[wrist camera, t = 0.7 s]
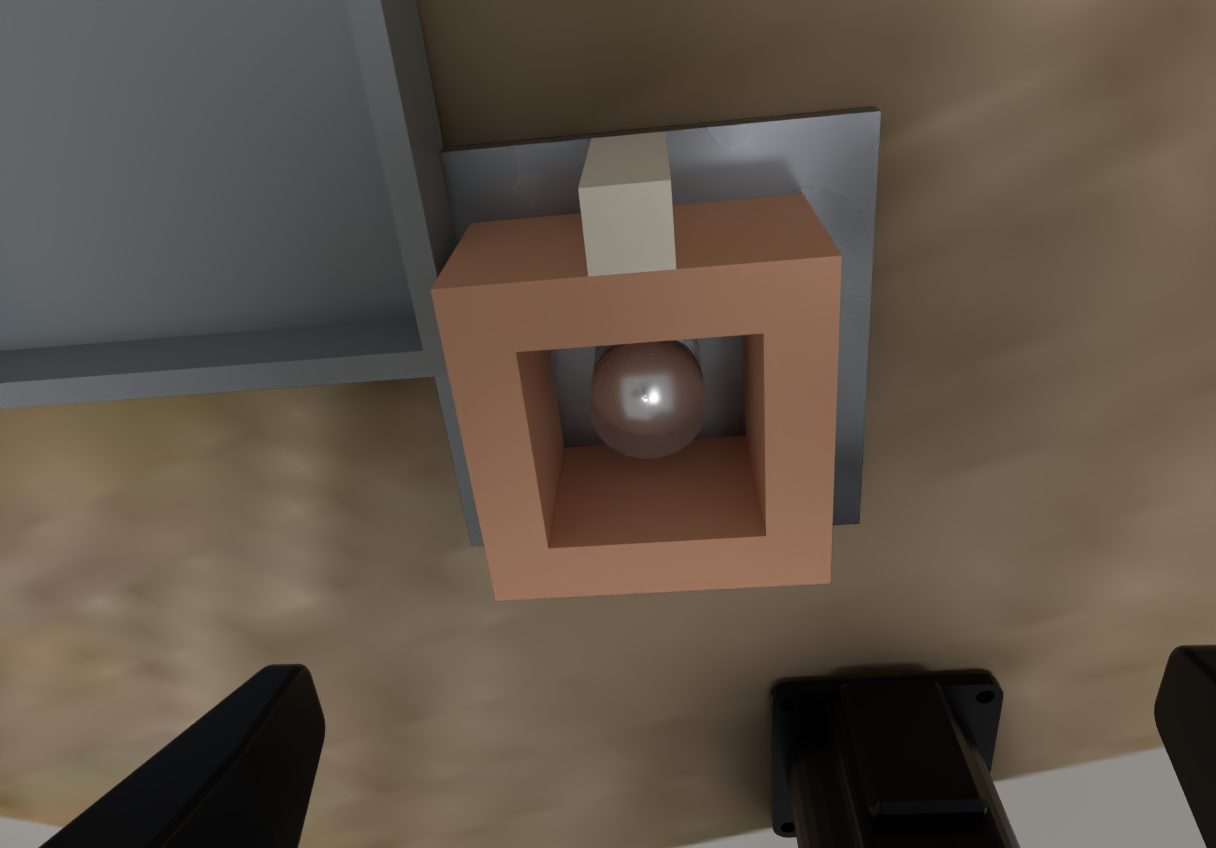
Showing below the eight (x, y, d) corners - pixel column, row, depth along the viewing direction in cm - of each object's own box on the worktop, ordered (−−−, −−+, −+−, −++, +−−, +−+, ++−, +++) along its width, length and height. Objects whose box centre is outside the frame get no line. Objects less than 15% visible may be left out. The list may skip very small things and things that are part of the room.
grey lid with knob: (855, 512, 22) (882, 585, 20) (474, 534, 23) (453, 607, 21) (875, 106, 17) (914, 135, 15) (392, 152, 18) (352, 187, 16)
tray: (477, 327, 20) (457, 374, 18) (-14, 366, 21) (-89, 415, 19) (350, -356, 14) (297, -409, 12) (-323, -259, 15) (-485, -292, 13)
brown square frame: (800, 477, 21) (830, 583, 18) (519, 495, 22) (495, 601, 18) (804, 118, 17) (844, 164, 14) (458, 151, 18) (412, 203, 14)
